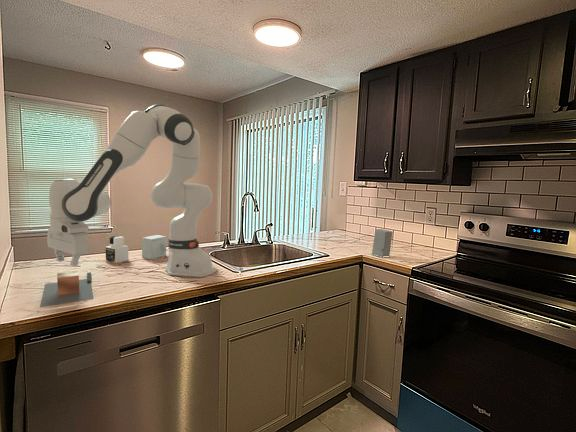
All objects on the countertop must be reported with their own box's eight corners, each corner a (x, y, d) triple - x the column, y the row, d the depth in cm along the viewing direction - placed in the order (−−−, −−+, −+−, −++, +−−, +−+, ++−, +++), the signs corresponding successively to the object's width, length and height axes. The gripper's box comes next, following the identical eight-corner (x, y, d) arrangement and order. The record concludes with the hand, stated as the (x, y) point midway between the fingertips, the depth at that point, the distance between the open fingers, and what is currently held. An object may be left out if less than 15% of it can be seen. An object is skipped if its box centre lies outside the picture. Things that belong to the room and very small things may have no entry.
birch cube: (57, 273, 109) (57, 278, 104) (77, 270, 112) (78, 275, 107) (57, 289, 109) (57, 295, 105) (78, 287, 113) (79, 292, 108)
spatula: (96, 265, 144) (96, 262, 144) (98, 281, 119) (98, 277, 119) (80, 266, 140) (80, 263, 140) (79, 283, 116) (79, 279, 116)
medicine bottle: (105, 261, 149) (104, 236, 148) (119, 258, 155) (119, 234, 154) (114, 263, 146) (114, 238, 144) (128, 260, 152) (128, 236, 151)
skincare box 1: (151, 259, 155) (150, 238, 154) (141, 257, 158) (141, 237, 157) (166, 255, 165) (166, 235, 164) (157, 253, 167) (157, 234, 166)
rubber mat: (45, 284, 115) (45, 283, 115) (90, 279, 123) (90, 278, 122) (39, 308, 95) (39, 307, 95) (93, 300, 103) (93, 298, 103)
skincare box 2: (371, 255, 187) (373, 228, 185) (379, 253, 191) (381, 228, 189) (382, 258, 180) (385, 231, 178) (390, 257, 184) (393, 230, 182)
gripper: (40, 222, 112) (42, 260, 113) (71, 229, 102) (73, 270, 104) (60, 221, 117) (62, 257, 119) (91, 227, 107) (92, 266, 109)
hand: (67, 263), depth 111 cm, fingers open, 8 cm apart
